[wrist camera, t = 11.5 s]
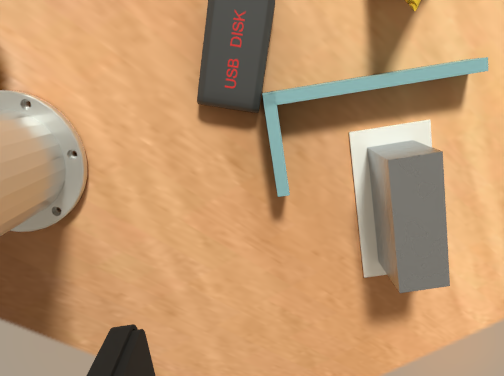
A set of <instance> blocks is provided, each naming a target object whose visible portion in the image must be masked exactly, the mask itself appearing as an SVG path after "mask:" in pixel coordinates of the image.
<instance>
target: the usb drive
mask: <svg viewBox="0 0 504 376" xmlns="http://www.w3.org/2000/svg"><path fill="white" fill-rule="evenodd" d="M274 8H275V0H208V8H207V17H206V25H205V34H204V43H203V52H202V60H201V69H200V78H199V87H198V97H197V102H198V104H202V105H208V106H214V107H221V108H227V109H234V110H241V111H247V112H254V113H258V112H259V107H260V100H261V94H262V87H263V80H264V74H265V67H266V61H267V54H268V47H269V41H270V34H271V28H272V21H273V14H274Z"/></svg>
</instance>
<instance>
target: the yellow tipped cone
mask: <svg viewBox="0 0 504 376" xmlns="http://www.w3.org/2000/svg"><path fill="white" fill-rule="evenodd" d="M405 1H406V2H407V3H408V4H409V6H410V7H411V8H412V9H413V10H414V11H416V10H417V8H418V6H419V4H420V1H421V0H405Z"/></svg>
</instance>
